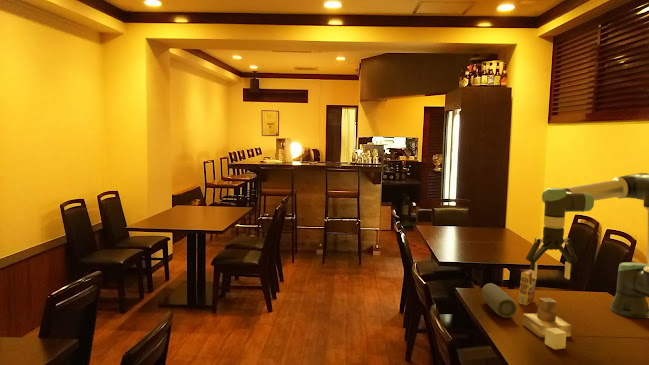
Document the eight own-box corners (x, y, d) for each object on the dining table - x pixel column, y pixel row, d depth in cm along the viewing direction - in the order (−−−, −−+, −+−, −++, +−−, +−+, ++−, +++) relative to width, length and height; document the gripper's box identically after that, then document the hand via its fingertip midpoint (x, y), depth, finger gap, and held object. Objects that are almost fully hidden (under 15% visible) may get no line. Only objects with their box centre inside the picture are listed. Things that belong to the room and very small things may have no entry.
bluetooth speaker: (517, 321, 206) (518, 298, 205) (495, 320, 206) (496, 297, 205) (499, 302, 229) (500, 282, 228) (479, 302, 229) (480, 281, 228)
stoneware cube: (555, 342, 185) (556, 327, 185) (565, 348, 180) (566, 332, 180) (544, 343, 184) (545, 328, 183) (554, 349, 179) (555, 334, 178)
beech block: (551, 324, 204) (552, 313, 204) (570, 337, 191) (571, 325, 191) (522, 325, 203) (523, 313, 202) (539, 338, 190) (540, 325, 189)
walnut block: (548, 316, 200) (550, 298, 199) (555, 321, 195) (557, 302, 194) (537, 316, 199) (538, 297, 198) (543, 321, 194) (545, 301, 193)
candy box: (527, 305, 226) (529, 274, 224) (518, 303, 229) (520, 272, 227) (534, 301, 232) (537, 270, 230) (525, 299, 235) (528, 268, 233)
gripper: (579, 225, 197) (575, 275, 199) (519, 224, 196) (516, 275, 198) (589, 228, 190) (586, 281, 192) (527, 228, 189) (524, 280, 191)
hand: (550, 278), depth 195 cm, fingers open, 13 cm apart
